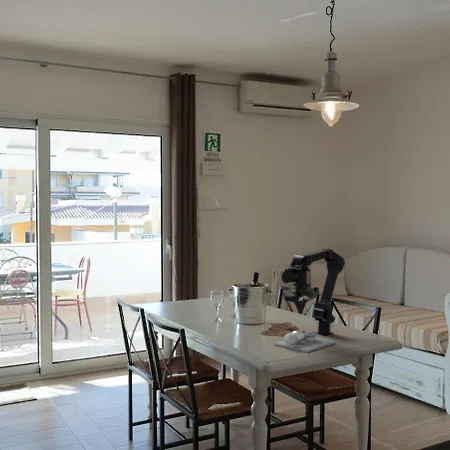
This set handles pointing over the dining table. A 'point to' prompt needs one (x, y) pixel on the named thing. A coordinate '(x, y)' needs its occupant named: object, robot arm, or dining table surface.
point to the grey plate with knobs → (303, 343)
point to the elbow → (304, 335)
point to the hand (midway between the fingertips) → (300, 314)
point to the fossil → (280, 329)
